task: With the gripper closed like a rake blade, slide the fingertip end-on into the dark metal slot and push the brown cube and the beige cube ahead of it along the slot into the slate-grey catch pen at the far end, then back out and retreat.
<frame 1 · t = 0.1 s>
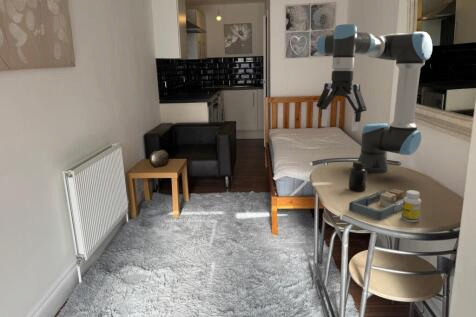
hand: (338, 128, 135), 28 cm above the table, fingers open, 13 cm apart
brown cube: (395, 200, 139), on the table
beige cube: (387, 204, 136), on the table
supplement bottle: (356, 190, 152), on the table
slot rails: (387, 204, 136), on the table
catch pen: (372, 211, 129), on the table
supplement bottle 2: (409, 219, 122), on the table
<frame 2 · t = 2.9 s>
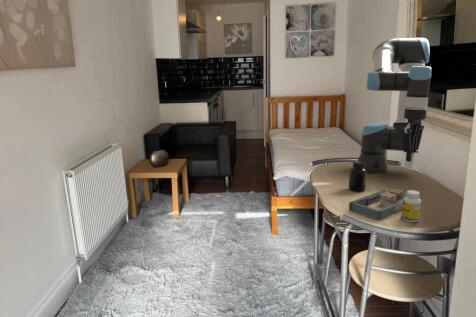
hand: (408, 168, 141), 11 cm above the table, fingers closed
nothing on the table moved.
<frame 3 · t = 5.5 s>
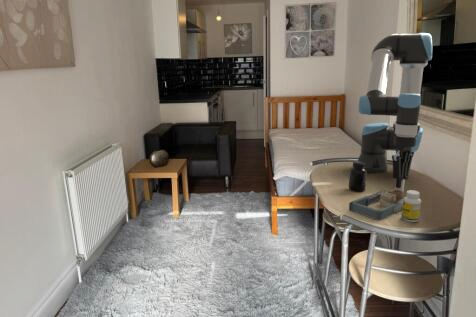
hand: (398, 195, 140), 2 cm above the table, fingers closed
brown cube: (394, 201, 139), on the table, touching gripper
everything else where it was.
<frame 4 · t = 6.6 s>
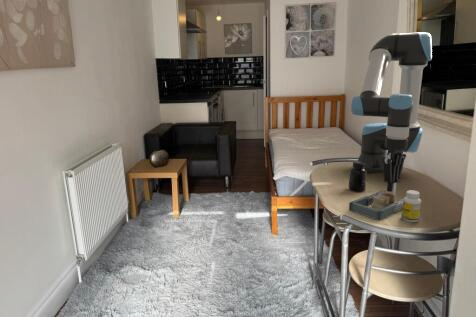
hand: (390, 198, 136), 2 cm above the table, fingers closed
brown cube: (385, 204, 135), on the table, touching beige cube, gripper
beige cube: (380, 207, 132), on the table, touching brown cube
everything else where it was.
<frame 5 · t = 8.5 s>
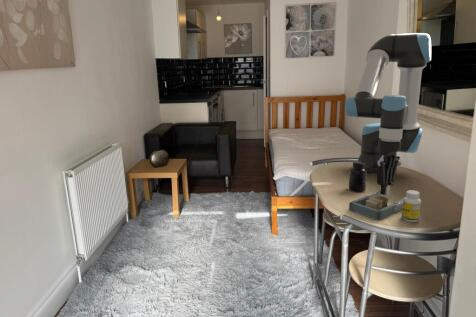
hand: (383, 201, 133), 2 cm above the table, fingers closed
brown cube: (379, 208, 132), on the table
beige cube: (373, 211, 130), on the table
everything else where it was.
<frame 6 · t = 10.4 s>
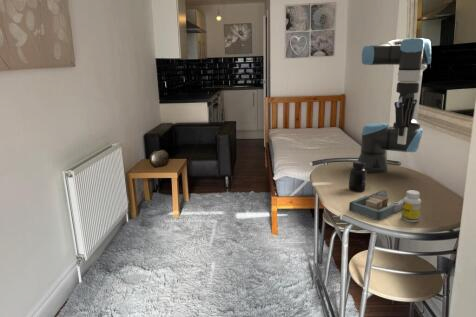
hand: (401, 143, 140), 21 cm above the table, fingers closed
nothing on the table moved.
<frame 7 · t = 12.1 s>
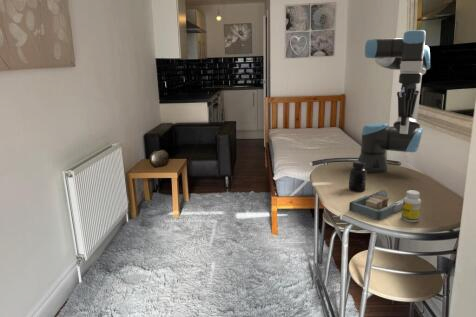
hand: (403, 133, 144), 24 cm above the table, fingers closed
nothing on the table moved.
at the end: brown cube inside the target area (5.3 cm from its centre), on the table; beige cube inside the target area (1.3 cm from its centre), on the table; brown cube moved 11.7 cm from its start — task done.
